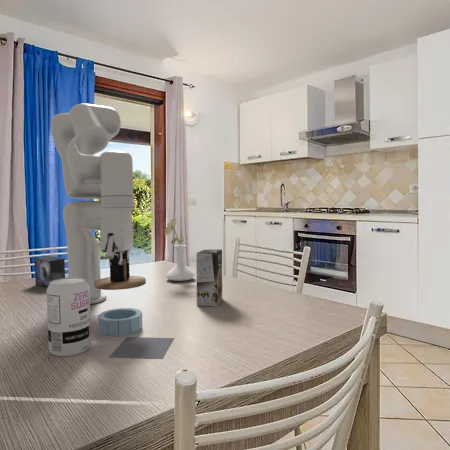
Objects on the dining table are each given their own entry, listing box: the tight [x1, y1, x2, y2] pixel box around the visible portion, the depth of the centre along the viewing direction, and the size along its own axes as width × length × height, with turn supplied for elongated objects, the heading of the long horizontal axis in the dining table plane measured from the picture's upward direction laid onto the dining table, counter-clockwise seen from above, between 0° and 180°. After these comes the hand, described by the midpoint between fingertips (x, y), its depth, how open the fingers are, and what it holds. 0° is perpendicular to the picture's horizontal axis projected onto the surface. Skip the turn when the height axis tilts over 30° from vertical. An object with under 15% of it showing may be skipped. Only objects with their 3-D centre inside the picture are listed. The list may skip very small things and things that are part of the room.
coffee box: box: [195, 249, 223, 307], centre depth 115 cm, size 9×6×16 cm
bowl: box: [97, 307, 143, 337], centre depth 91 cm, size 10×10×4 cm
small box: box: [33, 255, 66, 289], centre depth 140 cm, size 11×6×10 cm, turn 56°
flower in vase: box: [163, 217, 196, 282], centre depth 147 cm, size 13×11×25 cm
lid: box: [94, 259, 147, 291], centre depth 90 cm, size 12×12×6 cm
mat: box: [108, 336, 175, 360], centre depth 80 cm, size 11×11×1 cm
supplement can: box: [45, 277, 92, 357], centre depth 79 cm, size 8×8×15 cm
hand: (120, 279), depth 90 cm, fingers closed on lid, 3 cm apart
